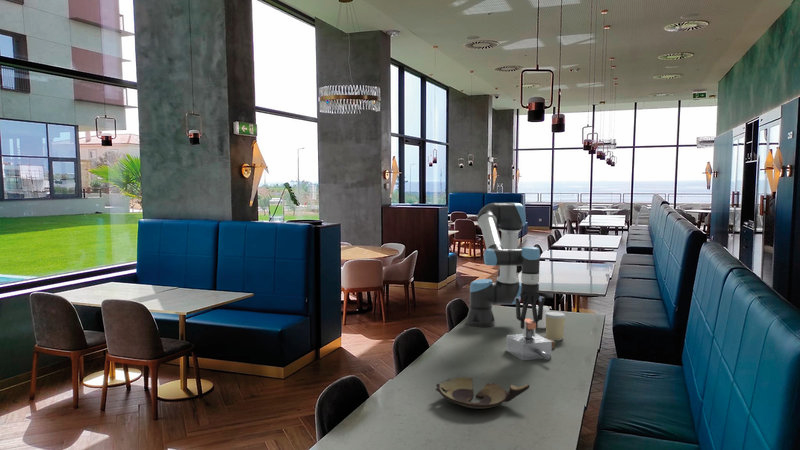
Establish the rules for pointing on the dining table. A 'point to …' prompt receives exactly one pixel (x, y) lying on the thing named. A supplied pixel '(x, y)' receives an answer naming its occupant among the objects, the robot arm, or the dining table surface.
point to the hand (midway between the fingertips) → (528, 335)
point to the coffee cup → (555, 325)
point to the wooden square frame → (552, 342)
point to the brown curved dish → (462, 393)
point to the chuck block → (529, 347)
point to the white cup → (542, 322)
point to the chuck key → (529, 328)
